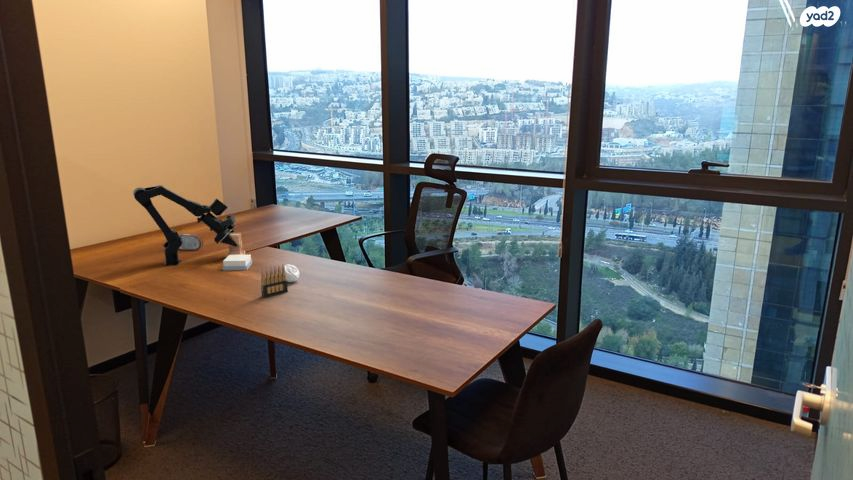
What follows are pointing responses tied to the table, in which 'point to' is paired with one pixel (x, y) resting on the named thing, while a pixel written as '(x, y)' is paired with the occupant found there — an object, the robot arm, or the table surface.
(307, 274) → the table surface
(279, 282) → the ammunition clip
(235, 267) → the tower base
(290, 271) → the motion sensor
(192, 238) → the tin
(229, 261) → the white square slab
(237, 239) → the pillar
